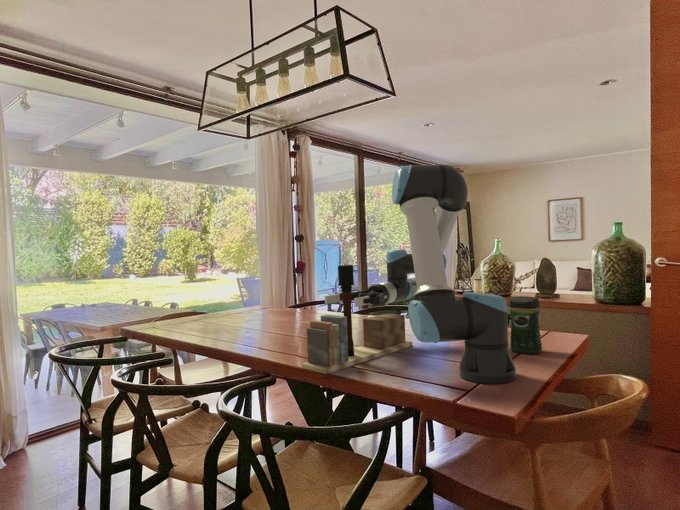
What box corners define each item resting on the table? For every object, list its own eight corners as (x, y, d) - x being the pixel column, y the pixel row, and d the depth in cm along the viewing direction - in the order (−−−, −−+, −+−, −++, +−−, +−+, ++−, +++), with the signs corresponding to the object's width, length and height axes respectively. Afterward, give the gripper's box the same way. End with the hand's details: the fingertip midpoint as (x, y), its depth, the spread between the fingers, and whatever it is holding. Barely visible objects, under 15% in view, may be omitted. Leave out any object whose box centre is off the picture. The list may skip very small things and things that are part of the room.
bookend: (388, 339, 169) (387, 313, 169) (405, 342, 163) (404, 315, 163) (364, 346, 159) (362, 318, 159) (381, 349, 153) (380, 321, 153)
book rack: (388, 341, 171) (387, 302, 171) (412, 345, 164) (410, 303, 163) (301, 368, 140) (299, 319, 140) (325, 374, 132) (323, 322, 132)
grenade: (360, 353, 149) (356, 264, 148) (353, 357, 144) (349, 265, 143) (345, 352, 151) (341, 265, 151) (337, 356, 146) (333, 266, 146)
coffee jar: (544, 350, 149) (542, 295, 148) (537, 356, 142) (535, 298, 142) (515, 347, 155) (513, 294, 154) (507, 352, 149) (505, 297, 148)
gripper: (410, 306, 151) (369, 315, 136) (356, 302, 169) (314, 309, 154) (409, 284, 151) (368, 291, 136) (355, 282, 168) (313, 288, 153)
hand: (339, 301), depth 145 cm, fingers open, 13 cm apart
